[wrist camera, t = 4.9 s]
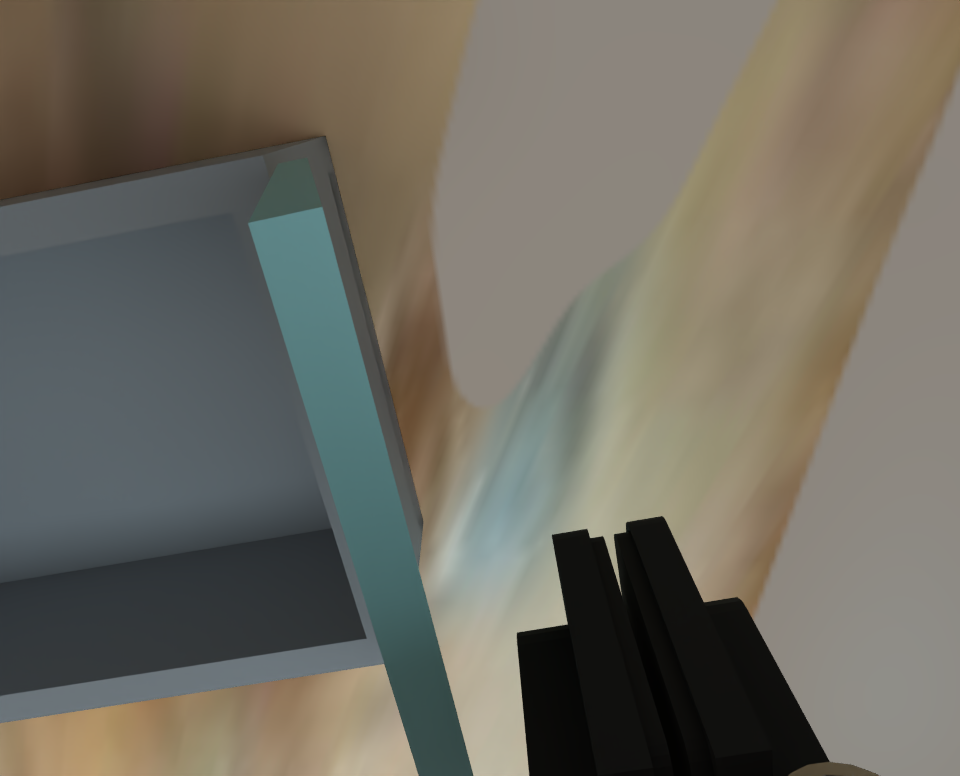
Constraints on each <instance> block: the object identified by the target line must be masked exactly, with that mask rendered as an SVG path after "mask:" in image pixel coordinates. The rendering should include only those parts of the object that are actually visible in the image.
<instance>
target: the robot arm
mask: <svg viewBox="0 0 960 776" xmlns="http://www.w3.org/2000/svg"><path fill="white" fill-rule="evenodd" d="M552 539H553V544H554V550H555V556H556V561H557V567H558V572H559V578H560V583H561V589H562V595H563V600H564V606H565V611H566V617H567V622H568V625H562V626H556V627H550V628H543V629H537V630H531V631H525V632H519V633H517V646H518V657H519V667H520V678H521V689H522V700H523V711H524V722H525V733H526V744H527V755H528V766H529V776H879V775H878V774H876V773H873V772H871V771H868V770H865V769H862V768H859V767H857V766H854V765H850V764H842V763H833V762H830V761H829V760H828V758H827V756H826V754H825V752H824V750H823V749H822V747H821V745H820V743H819V741H818V739H817V737H816V736H815V734H814V732H813V730H812V728H811V726H810V724H809V723H808V721H807V719H806V717H805V715H804V713H803V712H802V710H801V708H800V706H799V704H798V702H797V700H796V699H795V697H794V695H793V693H792V691H791V690H790V688H789V686H788V684H787V682H786V680H785V678H784V676H783V675H782V673H781V671H780V669H779V667H778V666H777V663H776V662H775V660H774V658H773V656H772V654H771V652H770V651H769V649H768V647H767V645H766V643H765V641H764V639H763V638H762V636H761V634H760V632H759V630H758V628H757V627H756V625H755V623H754V621H753V619H752V617H751V615H750V614H749V612H748V610H747V608H746V607H745V605H744V604H743V602H742V601H741V600H740V599H739V598H738V597H735V598H729V599H723V600H717V601H711V602H703V600H702V598H701V596H700V593H699V591H698V589H697V587H696V585H695V583H694V581H693V578H692V576H691V574H690V572H689V570H688V568H687V565H686V563H685V561H684V559H683V557H682V555H681V552H680V550H679V548H678V546H677V544H676V542H675V539H674V537H673V535H672V533H671V531H670V529H669V527H668V524H667V522H666V520H665V519H664V517H662V516H661V517H655V518H649V519H643V520H637V521H631V522H627V523H626V532H625V533H619V534H614V541H615V549H616V556H617V563H618V570H619V578H620V585H621V592H622V595H621V592H620V588H619V585H618V582H617V579H616V575H615V572H614V569H613V566H612V562H611V559H610V556H609V553H608V549H607V546H606V543H605V540H604V537H603V536H601V537H596V538H590V537H589V533H588V530H587V529H584V530H578V531H572V532H566V533H560V534H554V535H552Z"/></svg>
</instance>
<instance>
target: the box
mask: <svg viewBox="0 0 960 776" xmlns="http://www.w3.org/2000/svg"><path fill="white" fill-rule="evenodd" d="M303 158H307V159H308V162H309V165H310V169H311V172H312V175H313V178H314V181H315V185H316V188H317V191H318V194H319V198H320V201H321V204H322V207H323V211H324V215H325V219H326V222H327V226H328V230H329V234H330V238H331V241H332V245H333V249H334V253H335V256H336V260H337V264H338V268H339V271H340V275H341V279H342V283H343V286H344V290H345V294H346V298H347V302H348V305H349V309H350V313H351V317H352V320H353V324H354V328H355V332H356V335H357V339H358V343H359V347H360V351H361V354H362V358H363V362H364V366H365V369H366V373H367V377H368V381H369V384H370V388H371V392H372V396H373V399H374V403H375V407H376V411H377V415H378V418H379V422H380V426H381V430H382V433H383V437H384V441H385V445H386V448H387V452H388V456H389V460H390V464H391V467H392V471H393V475H394V479H395V482H396V486H397V490H398V494H399V497H400V501H401V505H402V509H403V512H404V516H405V520H406V524H407V528H408V531H409V535H410V539H411V543H412V546H413V550H414V554H415V558H416V561H417V565H418V569H419V560H420V550H421V540H422V530H423V518H422V514H421V510H420V507H419V503H418V499H417V495H416V491H415V487H414V483H413V479H412V475H411V471H410V467H409V463H408V459H407V455H406V451H405V447H404V443H403V440H402V436H401V432H400V428H399V424H398V420H397V416H396V412H395V408H394V404H393V400H392V396H391V392H390V388H389V384H388V380H387V377H386V373H385V369H384V365H383V361H382V357H381V353H380V349H379V345H378V341H377V337H376V333H375V329H374V325H373V321H372V317H371V314H370V310H369V306H368V302H367V298H366V294H365V290H364V286H363V282H362V278H361V274H360V270H359V266H358V262H357V258H356V254H355V250H354V247H353V243H352V239H351V235H350V231H349V227H348V223H347V219H346V215H345V211H344V207H343V203H342V199H341V195H340V191H339V187H338V184H337V180H336V176H335V172H334V168H333V164H332V160H331V156H330V152H329V148H328V144H327V140H326V136H322V137H317V138H312V139H307V140H302V141H297V142H292V143H287V144H282V145H276V146H271V147H266V148H261V149H256V150H251V151H246V152H241V153H236V154H231V155H226V156H221V157H216V158H211V159H205V160H200V161H195V162H190V163H185V164H180V165H175V166H170V167H165V168H160V169H155V170H150V171H145V172H140V173H134V174H129V175H124V176H119V177H114V178H109V179H104V180H99V181H94V182H89V183H84V184H79V185H74V186H69V187H63V188H58V189H53V190H48V191H43V192H38V193H33V194H28V195H23V196H18V197H13V198H8V199H3V200H0V723H3V722H10V721H16V720H23V719H29V718H36V717H42V716H49V715H55V714H62V713H68V712H75V711H81V710H88V709H94V708H101V707H107V706H114V705H120V704H127V703H133V702H140V701H146V700H153V699H159V698H166V697H172V696H179V695H185V694H192V693H198V692H205V691H211V690H218V689H224V688H231V687H237V686H244V685H250V684H257V683H263V682H270V681H276V680H283V679H289V678H296V677H302V676H309V675H315V674H322V673H328V672H335V671H341V670H348V669H354V668H361V667H367V666H374V665H380V664H384V661H383V658H382V655H381V651H380V648H379V645H378V642H377V639H376V635H375V632H374V629H373V626H372V622H371V619H370V616H369V613H368V609H367V606H366V603H365V600H364V596H363V593H362V590H361V587H360V584H359V580H358V577H357V574H356V571H355V567H354V564H353V561H352V558H351V554H350V551H349V548H348V545H347V542H346V538H345V535H344V532H343V529H342V525H341V522H340V519H339V516H338V512H337V509H336V506H335V503H334V499H333V496H332V493H331V490H330V487H329V483H328V480H327V477H326V474H325V470H324V467H323V464H322V461H321V457H320V454H319V451H318V448H317V444H316V441H315V438H314V435H313V432H312V428H311V425H310V422H309V419H308V415H307V412H306V409H305V406H304V402H303V399H302V396H301V393H300V389H299V386H298V383H297V380H296V377H295V373H294V370H293V367H292V364H291V360H290V357H289V354H288V351H287V347H286V344H285V341H284V338H283V334H282V331H281V328H280V325H279V322H278V318H277V315H276V312H275V309H274V305H273V302H272V299H271V296H270V292H269V289H268V286H267V283H266V280H265V276H264V273H263V270H262V267H261V263H260V260H259V257H258V254H257V250H256V247H255V244H254V241H253V237H252V234H251V231H250V228H249V225H248V222H249V220H250V218H251V216H252V214H253V212H254V210H255V208H256V206H257V204H258V202H259V200H260V198H261V196H262V194H263V192H264V190H265V188H266V186H267V184H268V182H269V180H270V178H271V177H272V175H273V173H274V171H275V169H276V167H277V165H278V163H283V162H288V161H293V160H298V159H303Z"/></svg>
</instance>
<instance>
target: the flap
mask: <svg viewBox="0 0 960 776" xmlns="http://www.w3.org/2000/svg"><path fill="white" fill-rule="evenodd" d="M248 225H249V228H250V231H251V234H252V237H253V241H254V244H255V247H256V250H257V254H258V257H259V260H260V263H261V267H262V270H263V273H264V276H265V280H266V283H267V286H268V289H269V292H270V296H271V299H272V302H273V305H274V309H275V312H276V315H277V318H278V322H279V325H280V328H281V331H282V334H283V338H284V341H285V344H286V347H287V351H288V354H289V357H290V360H291V364H292V367H293V370H294V373H295V377H296V380H297V383H298V386H299V389H300V393H301V396H302V399H303V402H304V406H305V409H306V412H307V415H308V419H309V422H310V425H311V428H312V432H313V435H314V438H315V441H316V444H317V448H318V451H319V454H320V457H321V461H322V464H323V467H324V470H325V474H326V477H327V480H328V483H329V487H330V490H331V493H332V496H333V499H334V503H335V506H336V509H337V512H338V516H339V519H340V522H341V525H342V529H343V532H344V535H345V538H346V542H347V545H348V548H349V551H350V554H351V558H352V561H353V564H354V567H355V571H356V574H357V577H358V580H359V584H360V587H361V590H362V593H363V596H364V600H365V603H366V606H367V609H368V613H369V616H370V619H371V622H372V626H373V629H374V632H375V635H376V639H377V642H378V645H379V648H380V651H381V655H382V658H383V661H384V664H385V668H386V671H387V674H388V677H389V681H390V684H391V687H392V690H393V694H394V697H395V700H396V703H397V706H398V710H399V713H400V716H401V719H402V723H403V726H404V729H405V732H406V736H407V739H408V742H409V745H410V749H411V752H412V755H413V758H414V761H415V765H416V768H417V771H418V774H419V776H473V772H472V769H471V765H470V761H469V757H468V754H467V750H466V746H465V742H464V739H463V735H462V731H461V727H460V723H459V720H458V716H457V712H456V708H455V705H454V701H453V697H452V693H451V690H450V686H449V682H448V678H447V674H446V671H445V667H444V663H443V659H442V656H441V652H440V648H439V644H438V641H437V637H436V633H435V629H434V625H433V622H432V618H431V614H430V610H429V607H428V603H427V599H426V595H425V592H424V588H423V584H422V580H421V577H420V573H419V569H418V565H417V561H416V558H415V554H414V550H413V546H412V543H411V539H410V535H409V531H408V528H407V524H406V520H405V516H404V512H403V509H402V505H401V501H400V497H399V494H398V490H397V486H396V482H395V479H394V475H393V471H392V467H391V464H390V460H389V456H388V452H387V448H386V445H385V441H384V437H383V433H382V430H381V426H380V422H379V418H378V415H377V411H376V407H375V403H374V399H373V396H372V392H371V388H370V384H369V381H368V377H367V373H366V369H365V366H364V362H363V358H362V354H361V351H360V347H359V343H358V339H357V335H356V332H355V328H354V324H353V320H352V317H351V313H350V309H349V305H348V302H347V298H346V294H345V290H344V286H343V283H342V279H341V275H340V271H339V268H338V264H337V260H336V256H335V253H334V249H333V245H332V241H331V238H330V234H329V230H328V226H327V222H326V219H325V215H324V211H323V207H322V204H321V201H320V198H319V194H318V191H317V188H316V185H315V181H314V178H313V175H312V172H311V169H310V165H309V162H308V159H307V158H303V159H298V160H293V161H288V162H283V163H278V165H277V167H276V169H275V171H274V173H273V175H272V177H271V178H270V180H269V182H268V184H267V186H266V188H265V190H264V192H263V194H262V196H261V198H260V200H259V202H258V204H257V206H256V208H255V210H254V212H253V214H252V216H251V218H250V220H249V222H248Z"/></svg>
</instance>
